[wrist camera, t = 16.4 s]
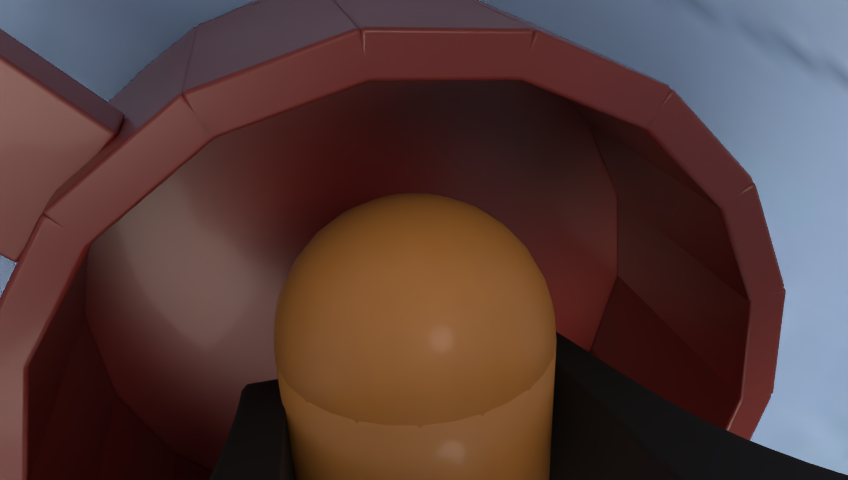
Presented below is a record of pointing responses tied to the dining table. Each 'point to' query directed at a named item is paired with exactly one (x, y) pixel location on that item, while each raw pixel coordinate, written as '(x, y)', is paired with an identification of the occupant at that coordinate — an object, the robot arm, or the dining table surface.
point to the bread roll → (416, 347)
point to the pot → (336, 193)
